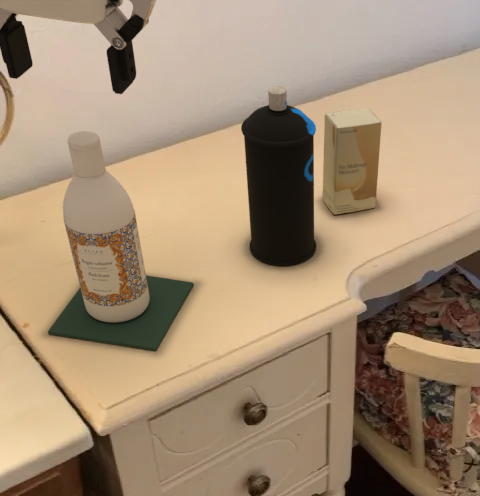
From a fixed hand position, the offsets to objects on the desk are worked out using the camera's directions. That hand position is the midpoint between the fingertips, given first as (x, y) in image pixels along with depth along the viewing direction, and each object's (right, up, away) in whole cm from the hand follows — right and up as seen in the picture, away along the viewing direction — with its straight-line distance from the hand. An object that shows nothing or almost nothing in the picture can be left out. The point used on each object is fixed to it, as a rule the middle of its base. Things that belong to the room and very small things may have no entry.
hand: (72, 80), depth 75 cm
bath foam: (-1, -19, +18) cm, 26 cm away
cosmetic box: (+24, -3, +36) cm, 43 cm away
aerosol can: (+16, -10, +28) cm, 34 cm away
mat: (-1, -19, +18) cm, 26 cm away
